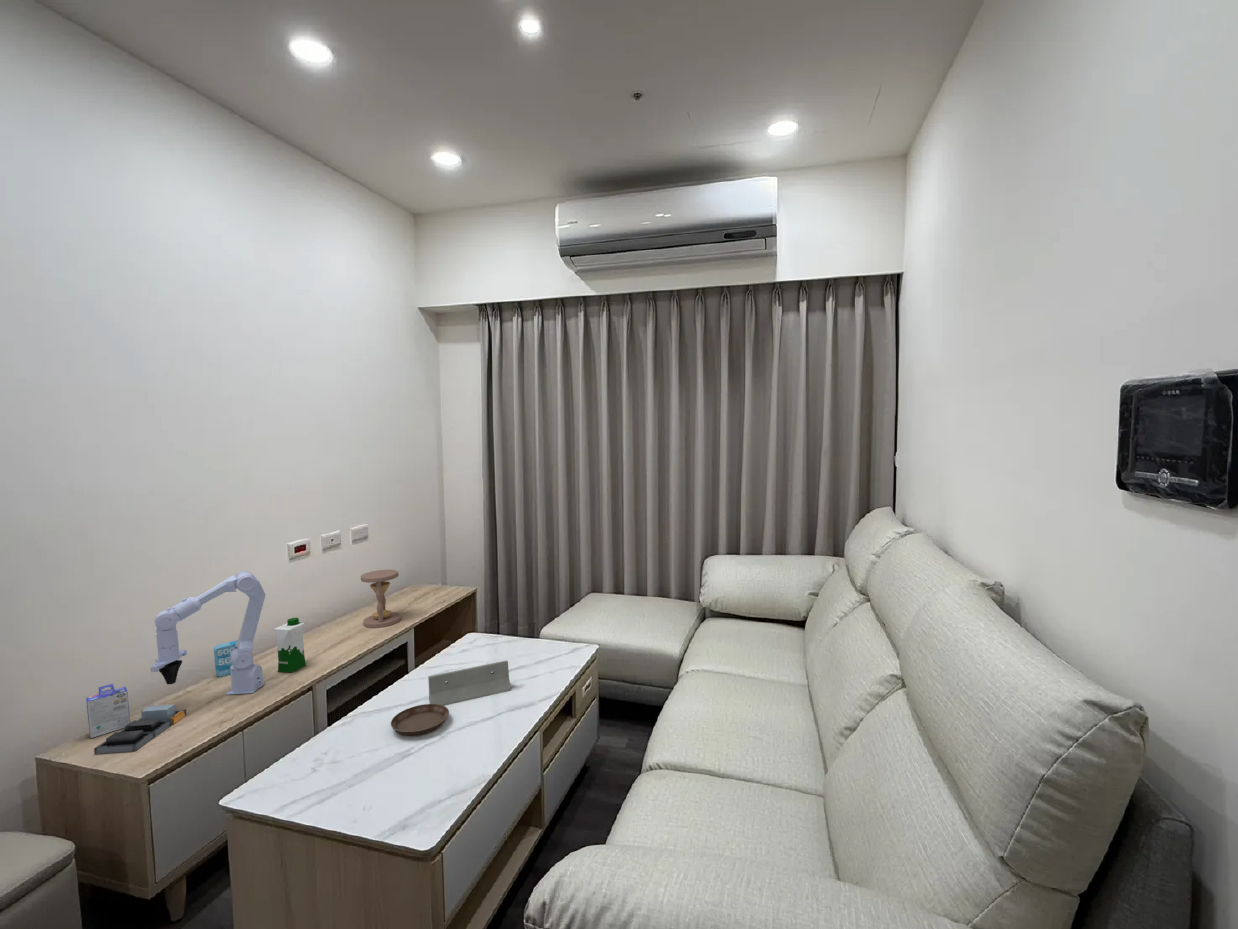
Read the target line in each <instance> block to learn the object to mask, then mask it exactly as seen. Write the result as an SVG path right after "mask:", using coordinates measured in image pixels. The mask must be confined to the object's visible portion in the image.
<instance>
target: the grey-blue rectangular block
mask: <svg viewBox="0 0 1238 929" xmlns="http://www.w3.org/2000/svg"><path fill="white" fill-rule="evenodd" d="M175 710H176V704H173V703H172V704H160V705H159V704H158V705H149V706H147V707H146V708H144V709H142V710H141V711H140V712H141V713H140V714H141V718H142V720H149V719H160V721H163V720H169V719H170V718H171V717H173V716H174V715H175Z"/></svg>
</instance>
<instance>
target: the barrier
mask: <svg viewBox="0 0 1238 929" xmlns="http://www.w3.org/2000/svg"><path fill="white" fill-rule="evenodd" d="M509 673H510V671H509V661H508V660H506V659H505V660H503V661H496V662H493V663H492V662H491V663H487V664H481V665H478V666H472V667H468V668H463V669H457V670H454V671H453V670H452V671H447V672H443V673H438V674H433V675H429V676H427V678H428V702H429V704H438V705H443V706H445V707H446V706H448V705H453V704H457V703H458V704H459V703H462V702H466V701H471V700H475V699H480V698H484V697H488V696H492V695H497V694H502V693H507V692H509V691H510V692H511V691H512V686H511V681H510V674H509Z"/></svg>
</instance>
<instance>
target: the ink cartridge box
mask: <svg viewBox="0 0 1238 929" xmlns="http://www.w3.org/2000/svg"><path fill="white" fill-rule="evenodd" d="M105 688H110V689H105ZM103 689H105V690H103ZM128 694H129V693H128V689H127V687H126V686H123V687H122V686H121V687H120V688H119V687H118V688H115V687H114V683H110V684H105V685H103V686H100V687H99V686H98V694H95V695H90V696H88V697H86V698H85V699H86V700H85V701H86V713H87V720H88V721H87V722H88V730H89V739H92V738H96V737H100V736H103V735H106V734H108V733H109V734H110V733H112V732H117V731H118V730H123V729H125V726H126V725H128V724H129V723H131V719H130V718H131V716H130V704H129V695H128Z"/></svg>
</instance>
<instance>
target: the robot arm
mask: <svg viewBox="0 0 1238 929" xmlns="http://www.w3.org/2000/svg"><path fill="white" fill-rule="evenodd" d="M237 590H238V591H239V592H241V593H243V594H245V595H246V596H247V597H248V603H247V607H246V610H245V613H244V617H243V621H242V626H241V627H240V632H239V635H238V639H237V640H238V641H237V640H236V641H237V642H236V645H235V647H234V649H233V650H232V651H231V653H230V659H231V660H232V662H233V664H232V666H231V667H230V671H231V674H230V681H231V682H230V683H231V690H228V692H226V694H225V695H227V696H230V695H231V696H232V695H243V694H252V693H255V692H256V691H257V690H258V689H259V688H261V687H262V686H263V685H265V682H264V677H263V676H264V674H263V667H262V666H261V665H259V664H255V662H254V656H253V650H254V649H253V648H254V640H255V635H256V632H257V629H258V625H259V621H260V617H261V613H262V610H263V606H264V602H265V599H266V593H265V591H264V589H263V587H262V585H261V582H260V581H259V579H257V577H256V576H255V575H254V574H253V573H251V572H250V571H246V570H243V571H239V572H237V573H236V574H234V575H231V576H229V577H228V578H226V579H225V580H223V581H221V582H220V583H218V584H216V585H214V586H213V587H211V588H210V589H208V590H206V591H204V592H203V593H201V594H200V595H198V596H196V597H195V596H189V597H184V598H182V599H181V601H180V602H179V603H176V604H175V605H173V606H172V607H171V606H169V607H167V608H166V610H162V611H160V612H158V613H157V614H156V616H155V618H154V624H155V627H156V630H155V632H156V636H155V638H156V648H157V657H158V658H156V659H155V662H154V664H153V665H152V666H150V672H151V673H158V672H159V673H160V674H161V676H162V677H163V678H164V681H165V683H166V685H174V684H175V683H176V682H177V677H178V675H179V674H178V673H179V670H180V668H181V665H182V664H183V660H182V659H181V658H182V657H183V656H184V657H185V656H187V655H188V652H187V649H180V646H179V644H180V643H179V634H178V630H177V624H178V623H179V622H182V621H183V620H185V619H187V618H188V617H190V616H192V615H193V614H195V613H197V612H198V611H200V610H201V609H202V606H203V605H204V604H206V603H208V602H210V601H211V600H214V599H216V598H217V597H219V596H221V595H223V594H225V593H236V592H237Z"/></svg>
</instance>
